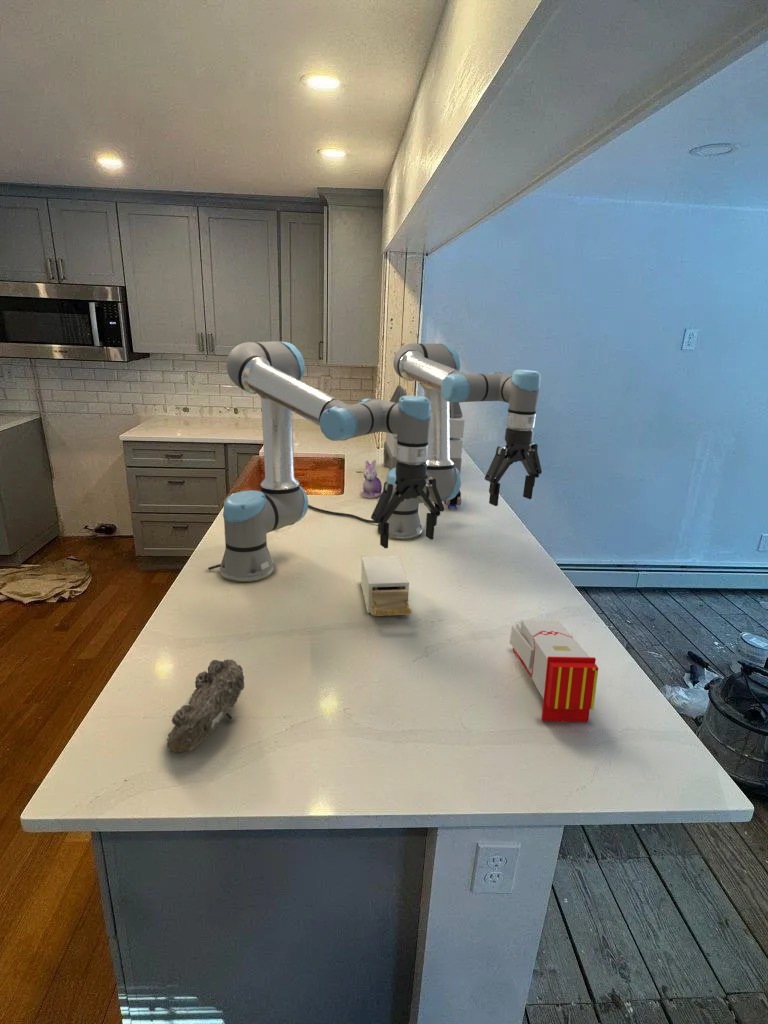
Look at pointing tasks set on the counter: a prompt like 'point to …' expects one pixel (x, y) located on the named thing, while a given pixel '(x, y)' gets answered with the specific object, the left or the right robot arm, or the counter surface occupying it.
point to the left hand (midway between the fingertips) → (407, 542)
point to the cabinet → (381, 575)
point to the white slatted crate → (454, 431)
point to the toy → (556, 669)
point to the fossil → (206, 705)
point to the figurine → (371, 481)
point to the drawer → (390, 601)
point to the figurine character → (454, 501)
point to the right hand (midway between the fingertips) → (510, 501)
